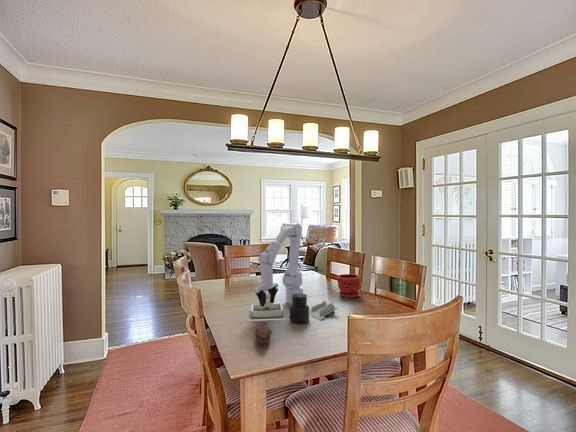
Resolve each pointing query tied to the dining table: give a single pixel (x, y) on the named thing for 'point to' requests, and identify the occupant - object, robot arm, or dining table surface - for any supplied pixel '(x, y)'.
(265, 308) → the silver rounded piece
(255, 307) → the tray
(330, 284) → the dining table surface
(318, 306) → the metal bracket
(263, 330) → the bird sculpture
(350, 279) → the plant pot
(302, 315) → the ink bottle
